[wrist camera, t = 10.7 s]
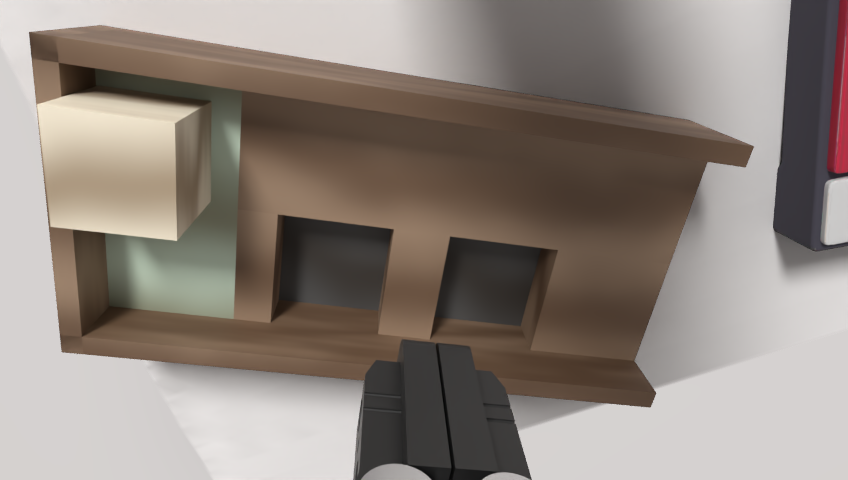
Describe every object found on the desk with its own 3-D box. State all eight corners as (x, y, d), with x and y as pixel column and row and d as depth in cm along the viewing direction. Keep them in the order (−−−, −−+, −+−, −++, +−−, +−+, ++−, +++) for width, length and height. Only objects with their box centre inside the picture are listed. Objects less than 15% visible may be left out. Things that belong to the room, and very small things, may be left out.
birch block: (99, 85, 26) (36, 104, 21) (211, 101, 26) (174, 123, 22) (106, 188, 28) (50, 226, 23) (210, 201, 28) (176, 240, 24)
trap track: (100, 25, 27) (28, 32, 22) (689, 120, 31) (753, 146, 26) (115, 293, 33) (61, 352, 28) (611, 346, 37) (650, 407, 31)
